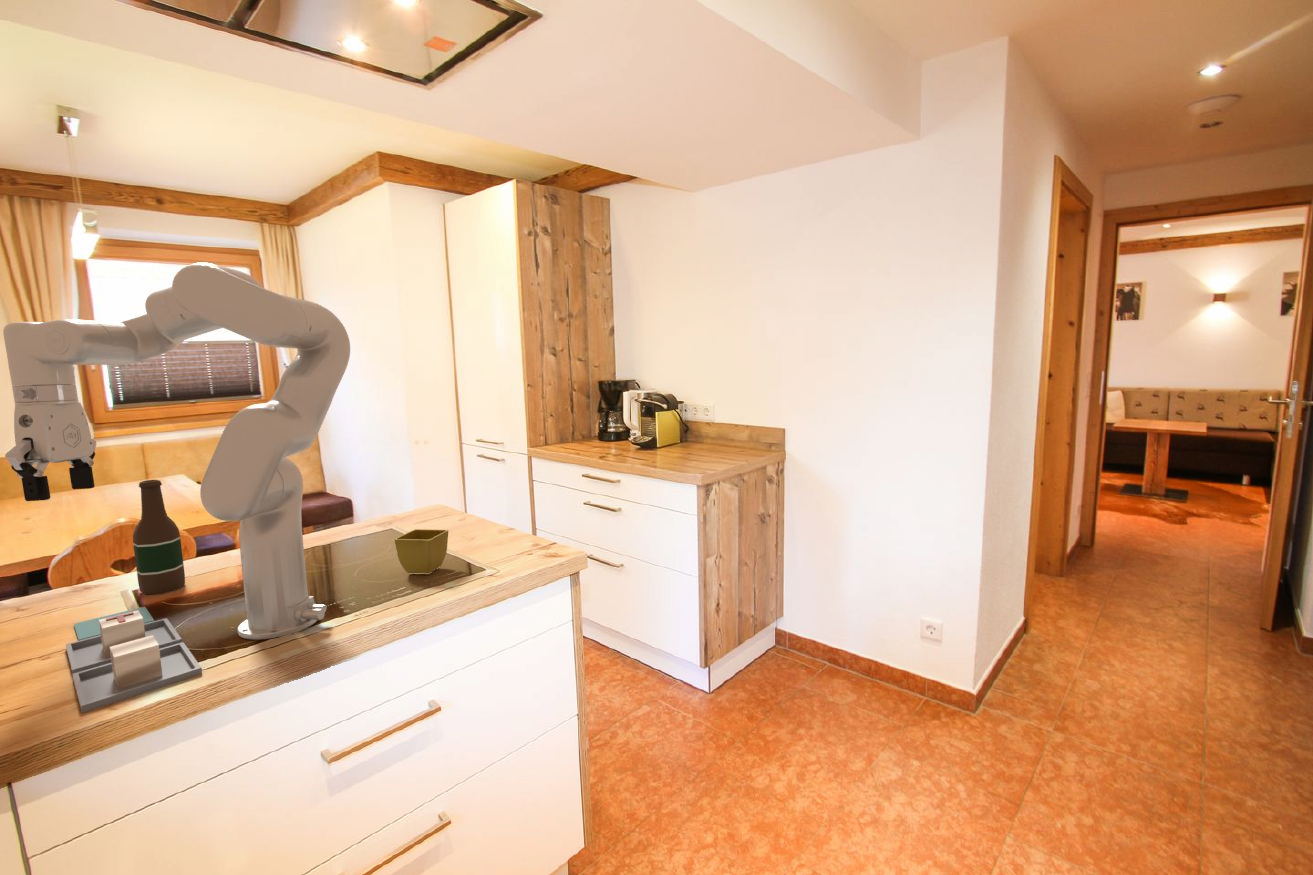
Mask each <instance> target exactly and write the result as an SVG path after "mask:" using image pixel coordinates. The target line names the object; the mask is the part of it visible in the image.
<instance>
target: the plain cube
mask: <svg viewBox="0 0 1313 875" xmlns="http://www.w3.org/2000/svg"><path fill="white" fill-rule="evenodd" d="M110 654H111V661H112V669H113V676H114V680H115V682H116V685H117V688H118V690H119V689H122V688H125V687H128V686H131V685H135V684H138V683H141V682H144V681H147V680H151V679H154V678H157V677H160V676H163V675H162V667H161V659H160V651H159V644H158V643H157V641H156V640H155V638H154V636H153V635H152V636H148V637H144V638H141V639H137V640H133V641H130V642H126V643H122V644H119V645H115V646H111V647H110Z"/></svg>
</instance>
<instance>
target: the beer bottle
mask: <svg viewBox="0 0 1313 875" xmlns="http://www.w3.org/2000/svg"><path fill="white" fill-rule="evenodd" d="M162 485H163V484H162V482H161V480H159V479H146V480H142V481H140V482H139V484H138V487H139V488H140V495H141V496H140V498H141V500H140V502H141V514H140V515H141V518H140V520H139V521H138V523H137V524H136V526H135V528H134V531H133V534H132V546H133V551H134V552H133V553H134V559H135V560H134V562H135V567H136V576H137V582H138V589H139V592H140V593H141V592H142V593H141V594H143V595H145V596H150V595H152V596H153V595H161V594H165V593H169V592H173V591H177V590H179V589H180V588H182V587H183V586H185V585H186V576H185V566H184V565H185V564H184V558H183V556H184V555H183V549H182V548H183V547H182V542H181V535H180V530H179V527H178V526H177V524H176V523H175V521H174V520H173V519H171V517H169V516H168V513H167V511H166V507H165V502H164V498H163V493H162V489H161V488H162V487H161V486H162Z"/></svg>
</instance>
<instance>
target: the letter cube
mask: <svg viewBox="0 0 1313 875" xmlns="http://www.w3.org/2000/svg"><path fill="white" fill-rule="evenodd" d="M99 625H100V632H101V639H102V647H103V650H104V653H105V655H106V657H110V656H111V654H110V647H111V646H115V645H119V644H122V643H126V642H130V641H133V640H137V639H141V638H144V637H145V630H144V622H143V617H142V616H141V614H140V612H139V611H134V612H130V613H125V614H121V615H117V616H113V617H109V618H105V619H101V620H99Z"/></svg>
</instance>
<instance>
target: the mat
mask: <svg viewBox="0 0 1313 875" xmlns="http://www.w3.org/2000/svg"><path fill="white" fill-rule="evenodd" d="M134 611H139V612H140V614H141V616H142V617H143V622H144V624H146V623H149V622H153V621H155V619H154V618H153V616H152V615H151V613H150V612H149V610H148V608H146V606H141V607H137V608H133V609H130V610H125V611H121V612H116V613H113V614H109V615H104V616H100V617H96V618H92V619H87V620H83V621H79V622H76V623H73V628H74V630H75V633H76V634H75V635H76V637H77V641H80V640H84V639H87V638H91V637H95V636H99V635H101V632H100V625H99V620H101V619H105V618H109V617H113V616H117V615H121V614H125V613H130V612H134Z"/></svg>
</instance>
